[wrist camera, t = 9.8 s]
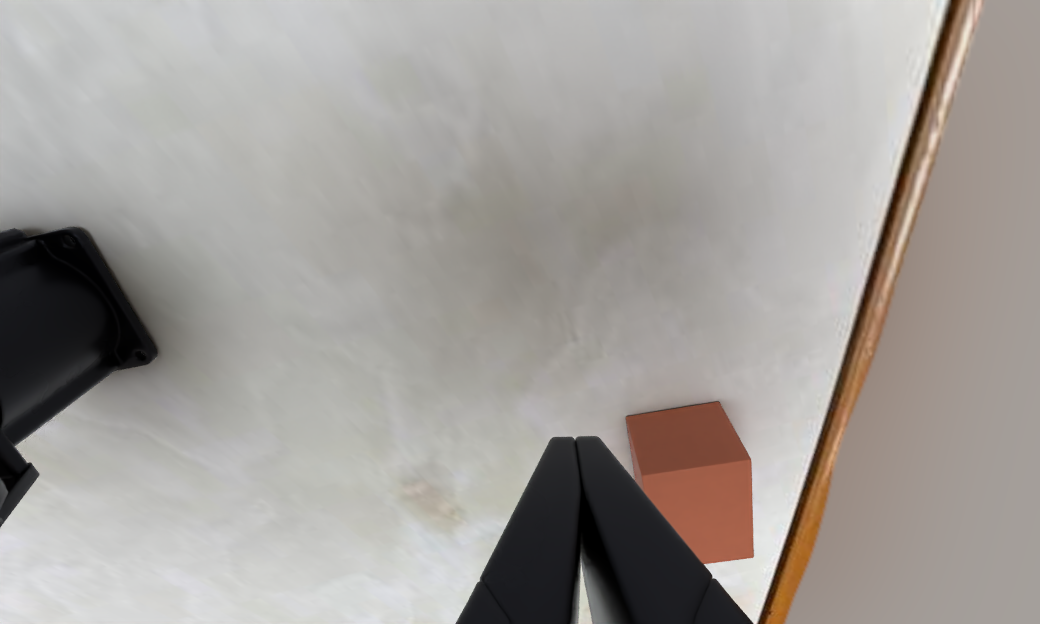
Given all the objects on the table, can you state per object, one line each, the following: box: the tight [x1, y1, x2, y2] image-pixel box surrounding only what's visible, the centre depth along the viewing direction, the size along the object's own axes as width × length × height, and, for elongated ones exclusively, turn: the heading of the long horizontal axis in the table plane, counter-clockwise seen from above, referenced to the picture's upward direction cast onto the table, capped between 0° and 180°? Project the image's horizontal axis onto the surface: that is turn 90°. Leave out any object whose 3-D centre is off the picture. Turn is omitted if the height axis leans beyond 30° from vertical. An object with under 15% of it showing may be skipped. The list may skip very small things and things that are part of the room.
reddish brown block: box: [626, 402, 754, 564], centre depth 24 cm, size 6×4×4 cm
